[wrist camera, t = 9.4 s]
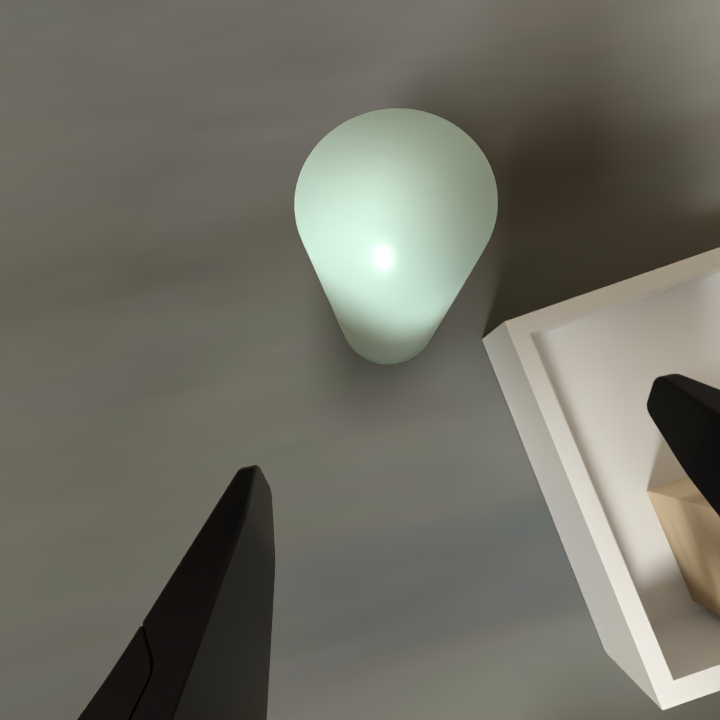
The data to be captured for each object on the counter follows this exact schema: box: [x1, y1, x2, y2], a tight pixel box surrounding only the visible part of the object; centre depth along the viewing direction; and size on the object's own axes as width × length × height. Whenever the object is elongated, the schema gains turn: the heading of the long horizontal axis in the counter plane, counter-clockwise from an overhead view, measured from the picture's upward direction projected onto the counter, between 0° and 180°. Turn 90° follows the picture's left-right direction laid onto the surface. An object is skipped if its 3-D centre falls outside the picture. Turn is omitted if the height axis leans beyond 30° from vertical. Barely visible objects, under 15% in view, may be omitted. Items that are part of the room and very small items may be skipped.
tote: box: [482, 247, 720, 710], centre depth 19 cm, size 16×14×4 cm
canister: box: [295, 108, 498, 365], centre depth 16 cm, size 5×5×12 cm
